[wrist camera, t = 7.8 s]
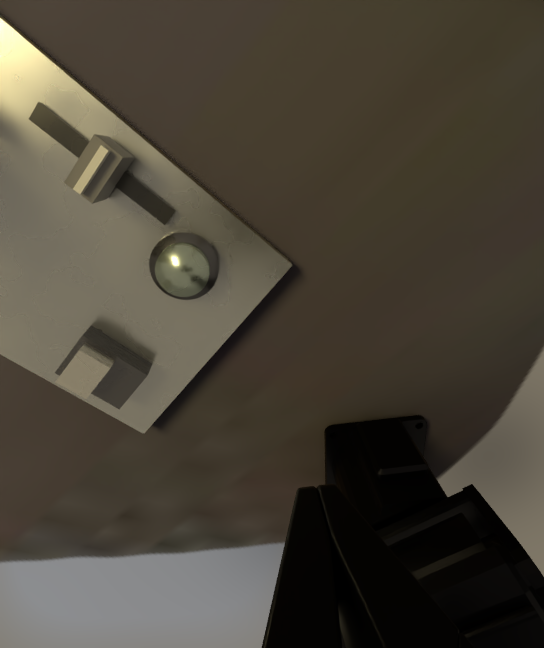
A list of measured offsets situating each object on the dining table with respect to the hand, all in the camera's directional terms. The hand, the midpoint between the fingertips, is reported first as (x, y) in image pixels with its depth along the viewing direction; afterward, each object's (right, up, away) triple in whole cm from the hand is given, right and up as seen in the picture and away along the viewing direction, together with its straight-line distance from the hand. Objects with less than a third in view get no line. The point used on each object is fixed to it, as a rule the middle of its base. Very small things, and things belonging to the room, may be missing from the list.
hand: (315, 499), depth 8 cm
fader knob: (-8, +10, +8) cm, 15 cm away
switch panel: (-12, +8, +10) cm, 17 cm away
